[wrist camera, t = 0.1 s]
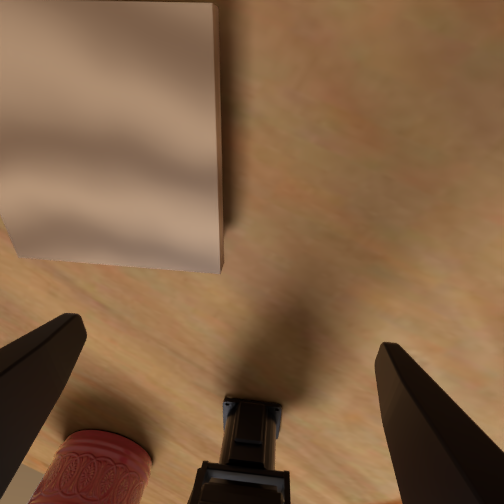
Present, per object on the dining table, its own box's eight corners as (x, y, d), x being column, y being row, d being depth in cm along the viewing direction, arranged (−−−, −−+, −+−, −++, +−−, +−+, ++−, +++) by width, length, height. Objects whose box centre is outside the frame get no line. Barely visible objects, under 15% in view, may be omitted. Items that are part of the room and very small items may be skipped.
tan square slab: (228, 248, 25) (220, 274, 22) (49, 234, 26) (18, 257, 23) (225, 12, 17) (212, 2, 14) (-31, 6, 18) (-93, -4, 15)
